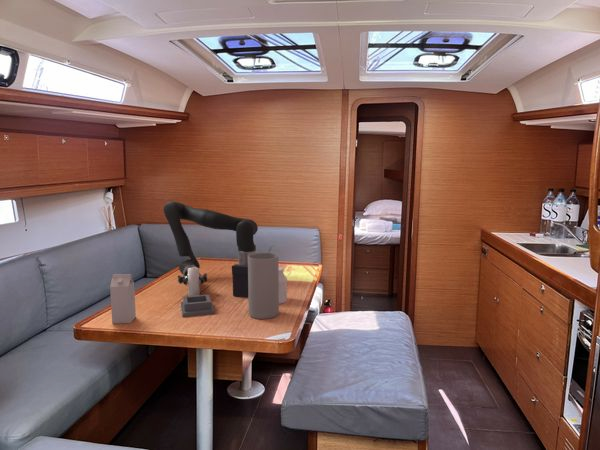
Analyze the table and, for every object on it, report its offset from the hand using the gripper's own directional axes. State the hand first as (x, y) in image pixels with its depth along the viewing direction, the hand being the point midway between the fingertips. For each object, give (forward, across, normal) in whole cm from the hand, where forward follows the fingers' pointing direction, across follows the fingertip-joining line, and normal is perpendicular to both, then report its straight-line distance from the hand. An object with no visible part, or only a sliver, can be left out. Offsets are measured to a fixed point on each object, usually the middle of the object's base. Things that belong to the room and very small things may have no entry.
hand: (193, 282), depth 202 cm
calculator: (+3, +23, +8) cm, 25 cm away
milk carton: (+20, -29, +8) cm, 36 cm away
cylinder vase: (+30, +26, +8) cm, 40 cm away
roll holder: (+15, 0, +8) cm, 17 cm away
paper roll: (-2, 0, +8) cm, 8 cm away
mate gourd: (-43, +44, +8) cm, 62 cm away
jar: (+13, +35, +8) cm, 38 cm away
